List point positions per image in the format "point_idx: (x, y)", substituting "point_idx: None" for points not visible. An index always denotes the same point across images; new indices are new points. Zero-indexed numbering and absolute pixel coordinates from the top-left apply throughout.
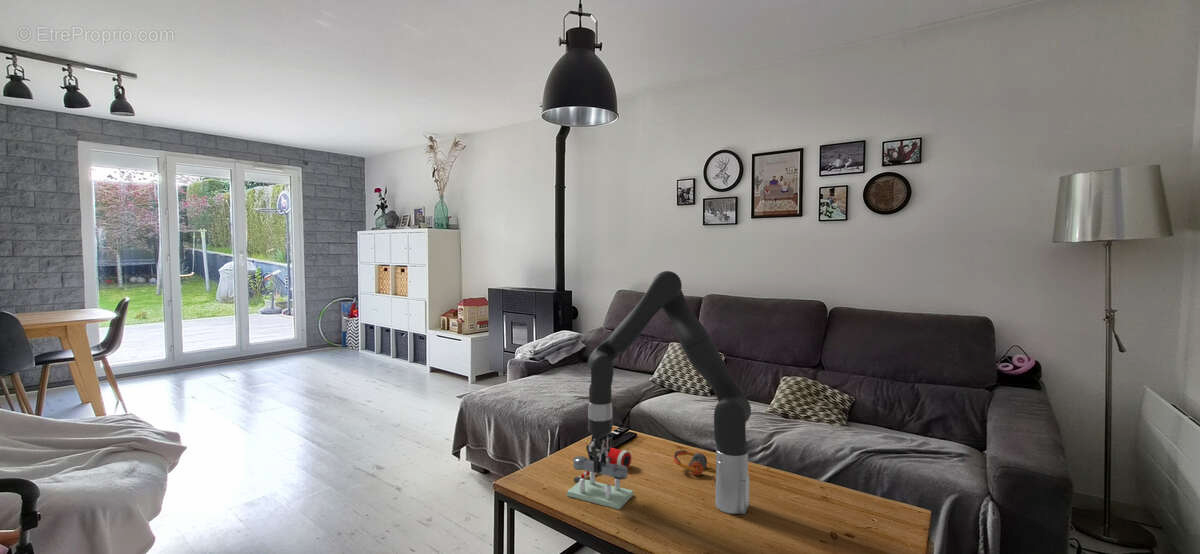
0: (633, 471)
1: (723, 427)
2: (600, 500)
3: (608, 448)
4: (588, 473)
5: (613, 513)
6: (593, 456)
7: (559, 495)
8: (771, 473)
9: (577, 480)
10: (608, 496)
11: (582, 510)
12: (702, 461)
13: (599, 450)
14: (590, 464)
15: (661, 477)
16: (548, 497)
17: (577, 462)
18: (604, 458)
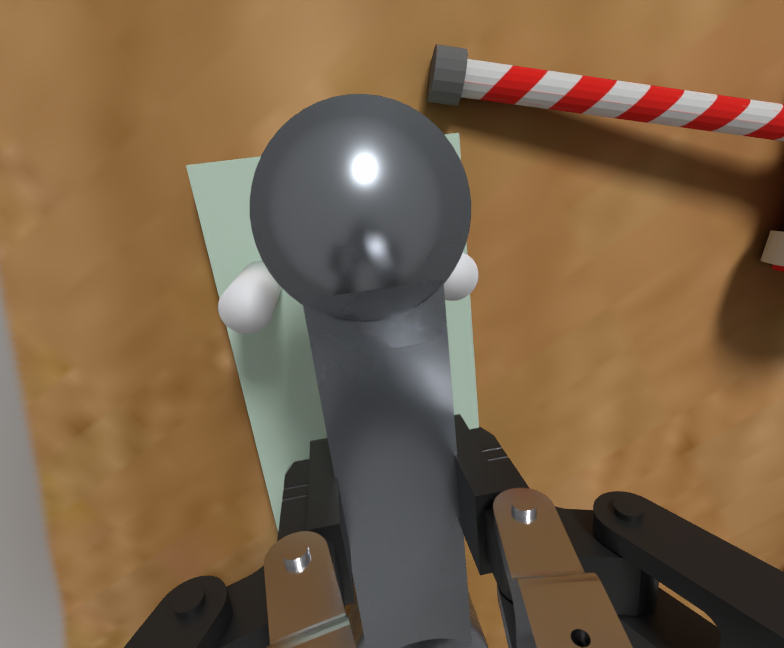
0: (760, 328)
1: None
2: (257, 447)
3: (634, 640)
4: (570, 109)
5: (229, 539)
6: (271, 614)
7: (161, 102)
8: None
9: (429, 93)
10: None
11: (118, 391)
12: None
13: (509, 577)
14: (325, 417)
15: (736, 489)
16: (62, 37)
17: (256, 236)
18: (474, 555)
